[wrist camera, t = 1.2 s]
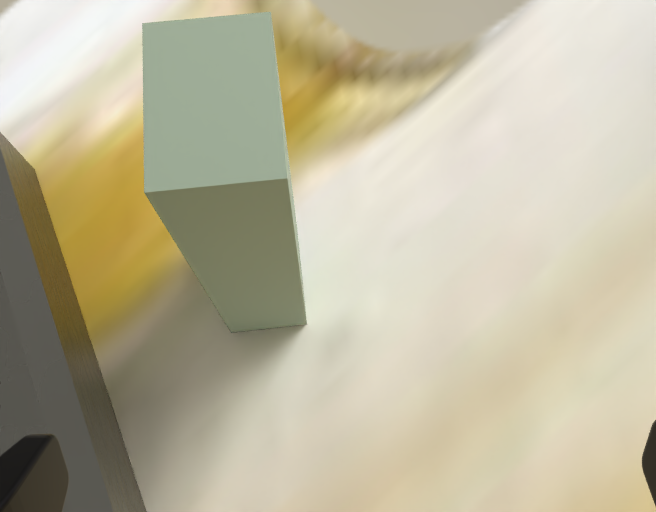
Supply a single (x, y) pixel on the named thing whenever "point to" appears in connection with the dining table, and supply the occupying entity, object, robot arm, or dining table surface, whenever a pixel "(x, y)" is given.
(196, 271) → the panel
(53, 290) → the track
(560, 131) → the dining table surface
